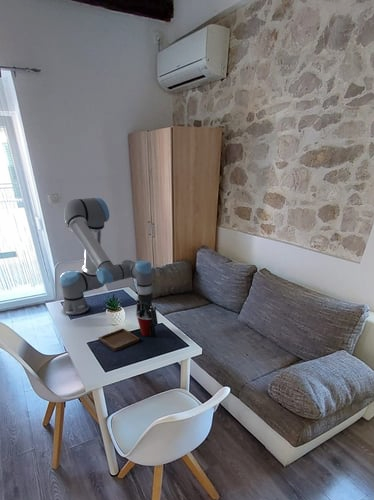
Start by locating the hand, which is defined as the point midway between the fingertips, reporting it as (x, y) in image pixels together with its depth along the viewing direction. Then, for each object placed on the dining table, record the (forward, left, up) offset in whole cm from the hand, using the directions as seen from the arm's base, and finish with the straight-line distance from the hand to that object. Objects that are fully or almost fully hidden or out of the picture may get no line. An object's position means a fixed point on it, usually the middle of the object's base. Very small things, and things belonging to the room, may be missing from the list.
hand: (147, 332), depth 170 cm
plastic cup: (0, 0, -1) cm, 1 cm away
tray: (-4, -15, -1) cm, 16 cm away
